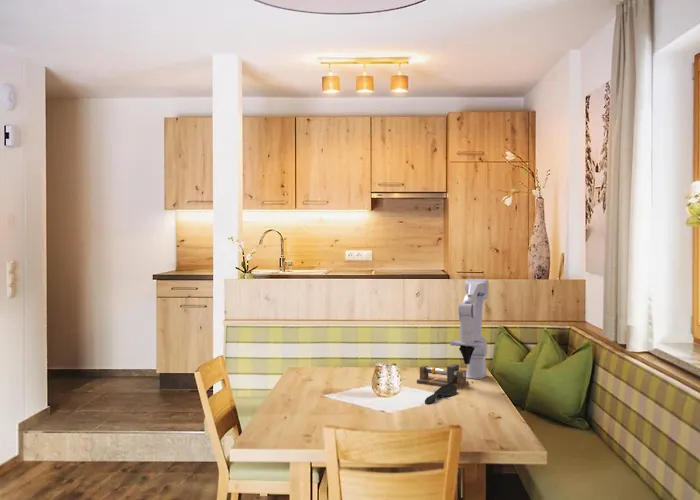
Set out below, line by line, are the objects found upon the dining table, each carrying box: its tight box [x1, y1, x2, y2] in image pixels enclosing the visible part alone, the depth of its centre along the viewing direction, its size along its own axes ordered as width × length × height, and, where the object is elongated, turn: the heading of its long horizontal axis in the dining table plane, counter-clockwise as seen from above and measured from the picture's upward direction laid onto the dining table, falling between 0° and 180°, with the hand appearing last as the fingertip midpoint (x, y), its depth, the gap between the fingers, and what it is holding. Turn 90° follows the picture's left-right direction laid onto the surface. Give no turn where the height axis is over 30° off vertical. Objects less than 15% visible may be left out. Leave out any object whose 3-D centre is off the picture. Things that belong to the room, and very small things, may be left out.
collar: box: [446, 363, 460, 383], centre depth 289 cm, size 7×2×7 cm, turn 146°
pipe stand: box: [416, 364, 470, 390], centre depth 292 cm, size 10×20×6 cm, turn 56°
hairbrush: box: [424, 384, 458, 405], centre depth 269 cm, size 8×4×25 cm
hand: (467, 363), depth 285 cm, fingers closed
